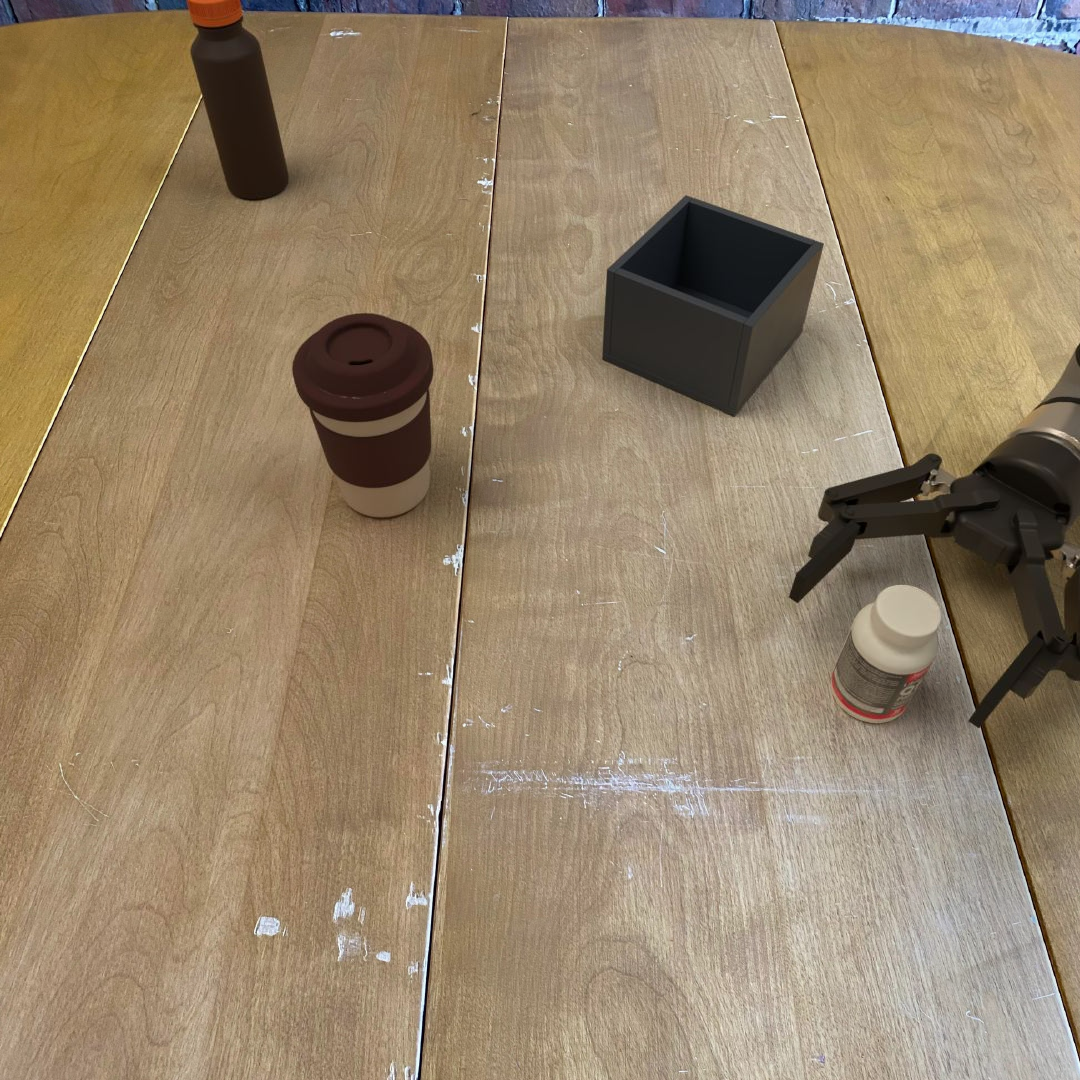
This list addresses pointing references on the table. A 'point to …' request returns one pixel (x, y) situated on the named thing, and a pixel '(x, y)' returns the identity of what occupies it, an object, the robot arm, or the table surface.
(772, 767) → the table surface
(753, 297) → the waste bin
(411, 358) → the coffee cup
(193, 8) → the brown water bottle
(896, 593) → the pill bottle
